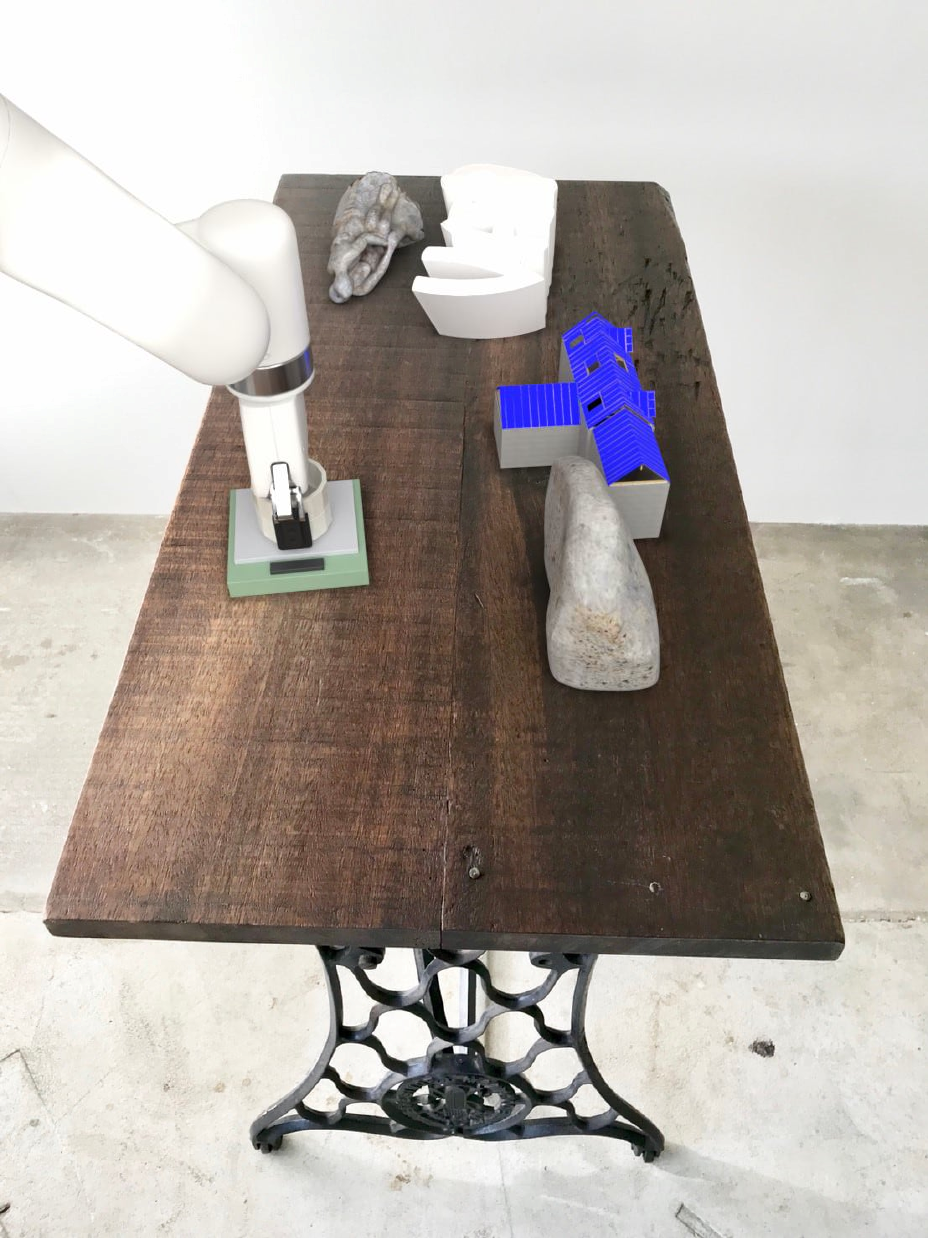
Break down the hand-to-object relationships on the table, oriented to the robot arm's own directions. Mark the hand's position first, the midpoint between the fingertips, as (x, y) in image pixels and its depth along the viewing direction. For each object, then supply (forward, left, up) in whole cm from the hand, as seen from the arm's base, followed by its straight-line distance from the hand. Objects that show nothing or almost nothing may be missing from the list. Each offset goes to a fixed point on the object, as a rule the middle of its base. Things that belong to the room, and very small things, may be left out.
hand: (294, 517), depth 93 cm
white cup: (0, 0, -1) cm, 1 cm away
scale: (0, 0, -3) cm, 3 cm away
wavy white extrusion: (+26, +45, -4) cm, 52 cm away
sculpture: (+10, +49, -4) cm, 50 cm away
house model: (+29, +9, -4) cm, 31 cm away
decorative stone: (+26, -14, -4) cm, 30 cm away
